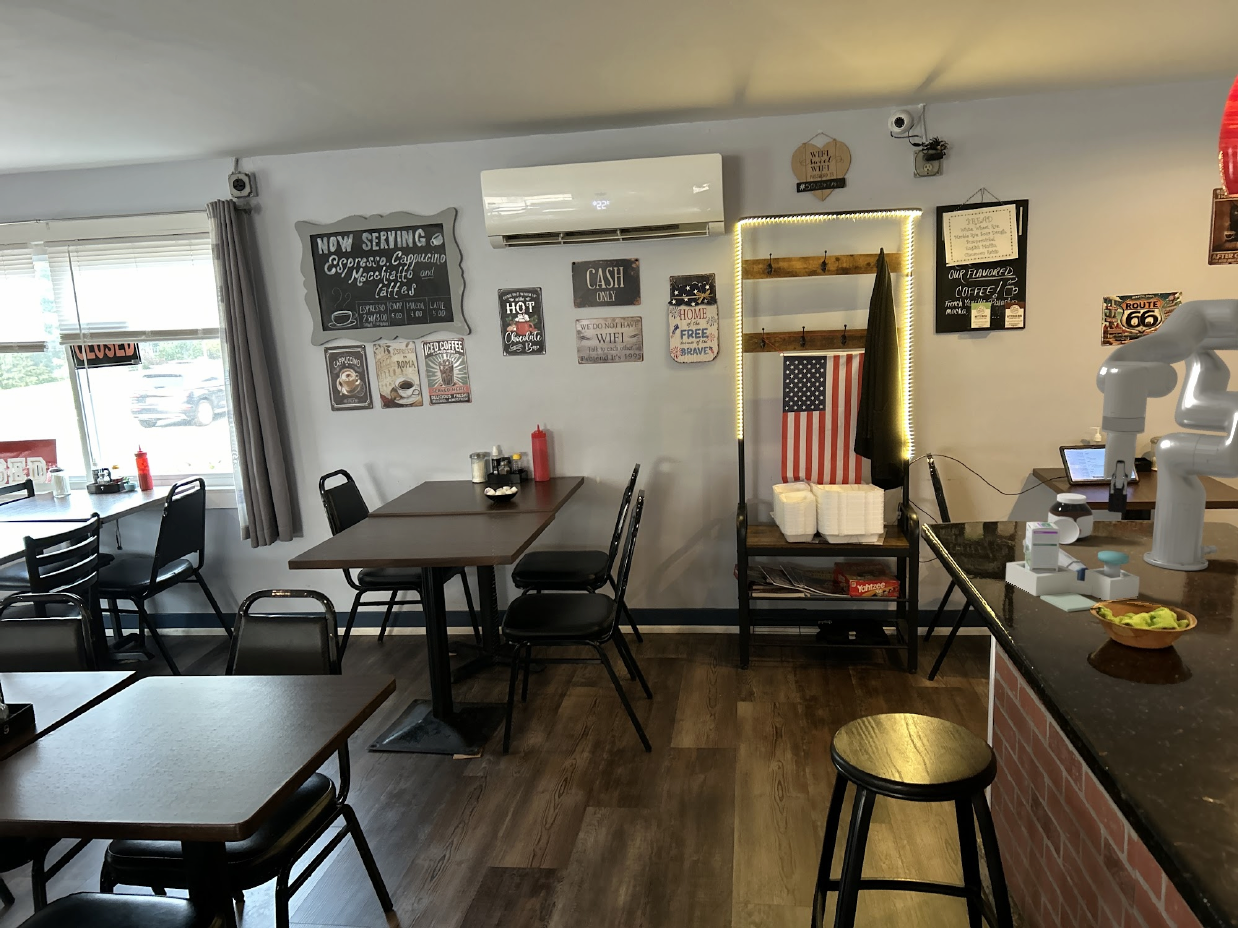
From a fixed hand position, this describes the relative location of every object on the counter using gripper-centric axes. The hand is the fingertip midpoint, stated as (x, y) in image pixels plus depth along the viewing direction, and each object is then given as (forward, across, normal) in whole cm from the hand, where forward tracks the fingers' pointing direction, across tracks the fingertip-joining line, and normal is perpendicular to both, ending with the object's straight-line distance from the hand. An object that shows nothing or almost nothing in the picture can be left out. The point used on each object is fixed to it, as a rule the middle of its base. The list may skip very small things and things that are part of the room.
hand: (1116, 507), depth 164 cm
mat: (+20, +8, -7) cm, 23 cm away
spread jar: (+20, -42, -10) cm, 48 cm away
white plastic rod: (+20, -18, -12) cm, 29 cm away
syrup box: (+20, 0, -14) cm, 24 cm away
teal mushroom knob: (+17, 0, 0) cm, 17 cm away
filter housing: (+20, 0, -8) cm, 21 cm away
